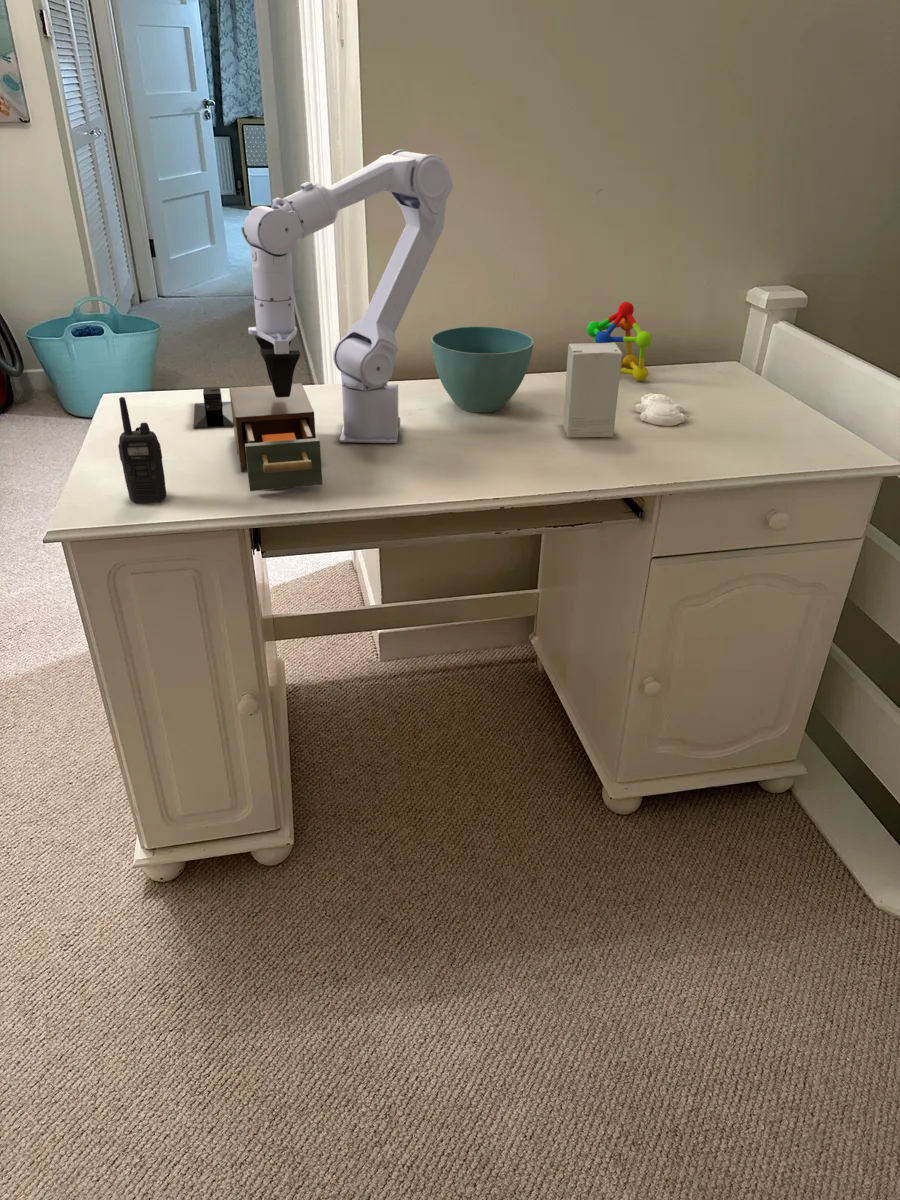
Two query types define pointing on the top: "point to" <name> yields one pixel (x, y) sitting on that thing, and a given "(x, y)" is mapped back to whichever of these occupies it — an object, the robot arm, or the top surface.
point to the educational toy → (624, 339)
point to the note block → (278, 437)
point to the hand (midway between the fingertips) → (279, 388)
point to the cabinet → (266, 410)
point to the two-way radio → (141, 461)
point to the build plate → (212, 411)
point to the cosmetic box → (591, 389)
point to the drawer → (282, 455)
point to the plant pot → (481, 365)
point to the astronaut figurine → (660, 410)
